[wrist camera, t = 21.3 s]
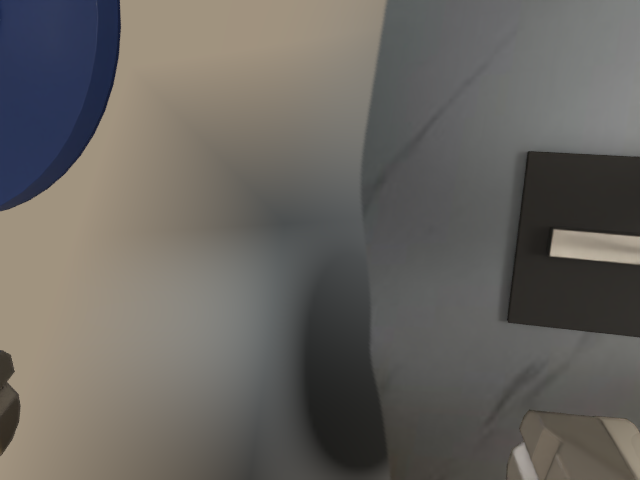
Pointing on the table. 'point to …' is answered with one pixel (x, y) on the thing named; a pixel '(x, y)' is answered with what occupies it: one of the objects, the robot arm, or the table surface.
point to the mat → (572, 274)
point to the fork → (594, 245)
